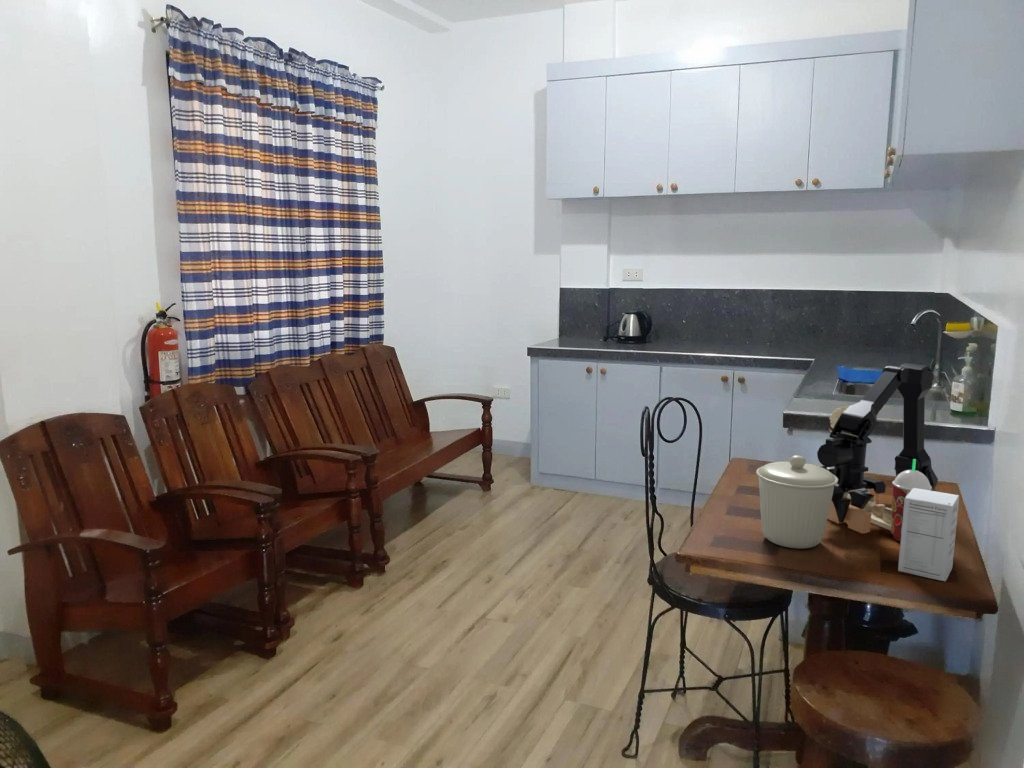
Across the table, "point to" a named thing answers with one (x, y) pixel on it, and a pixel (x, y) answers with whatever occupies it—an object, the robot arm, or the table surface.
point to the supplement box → (928, 533)
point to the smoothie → (901, 490)
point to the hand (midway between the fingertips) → (847, 520)
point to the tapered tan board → (853, 518)
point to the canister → (795, 502)
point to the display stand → (878, 513)
